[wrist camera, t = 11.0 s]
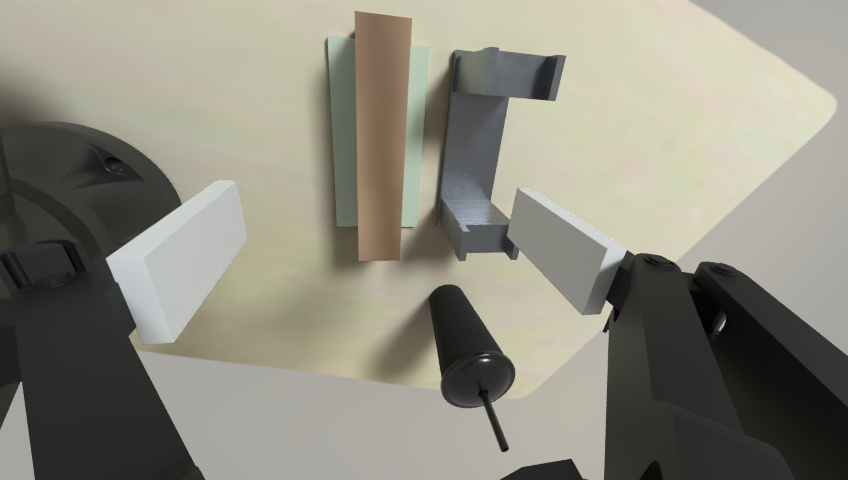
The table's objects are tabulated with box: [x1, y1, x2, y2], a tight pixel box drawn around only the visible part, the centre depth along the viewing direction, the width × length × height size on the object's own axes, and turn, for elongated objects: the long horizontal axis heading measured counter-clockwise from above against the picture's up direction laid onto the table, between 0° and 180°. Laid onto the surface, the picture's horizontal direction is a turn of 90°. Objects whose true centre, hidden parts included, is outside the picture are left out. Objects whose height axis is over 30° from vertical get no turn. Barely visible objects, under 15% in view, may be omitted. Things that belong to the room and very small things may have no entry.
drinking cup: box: [429, 285, 515, 452], centre depth 34 cm, size 8×8×20 cm
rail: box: [355, 11, 412, 261], centre depth 29 cm, size 4×20×6 cm, turn 175°
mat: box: [327, 35, 430, 227], centre depth 32 cm, size 9×18×1 cm, turn 175°
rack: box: [436, 47, 566, 261], centre depth 30 cm, size 6×18×10 cm, turn 175°
